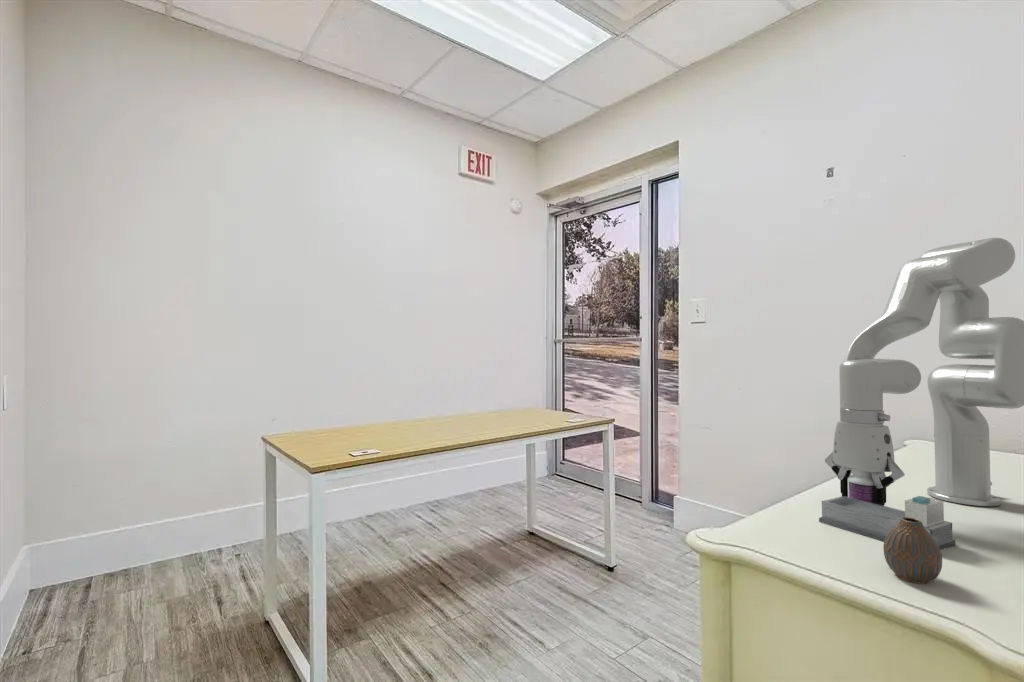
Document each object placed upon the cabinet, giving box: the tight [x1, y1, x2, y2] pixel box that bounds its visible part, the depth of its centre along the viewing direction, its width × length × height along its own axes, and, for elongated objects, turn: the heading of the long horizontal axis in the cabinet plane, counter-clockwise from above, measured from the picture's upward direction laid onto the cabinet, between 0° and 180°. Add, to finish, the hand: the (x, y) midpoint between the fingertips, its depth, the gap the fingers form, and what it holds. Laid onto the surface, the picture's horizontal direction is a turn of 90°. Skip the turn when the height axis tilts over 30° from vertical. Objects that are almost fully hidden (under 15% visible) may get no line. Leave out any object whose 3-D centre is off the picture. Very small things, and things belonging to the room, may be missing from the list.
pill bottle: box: [847, 469, 875, 503], centre depth 103 cm, size 5×5×10 cm
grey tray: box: [818, 495, 956, 551], centre depth 91 cm, size 10×18×8 cm, turn 27°
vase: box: [883, 517, 943, 584], centre depth 73 cm, size 7×7×9 cm
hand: (862, 501), depth 103 cm, fingers closed on pill bottle, 5 cm apart
